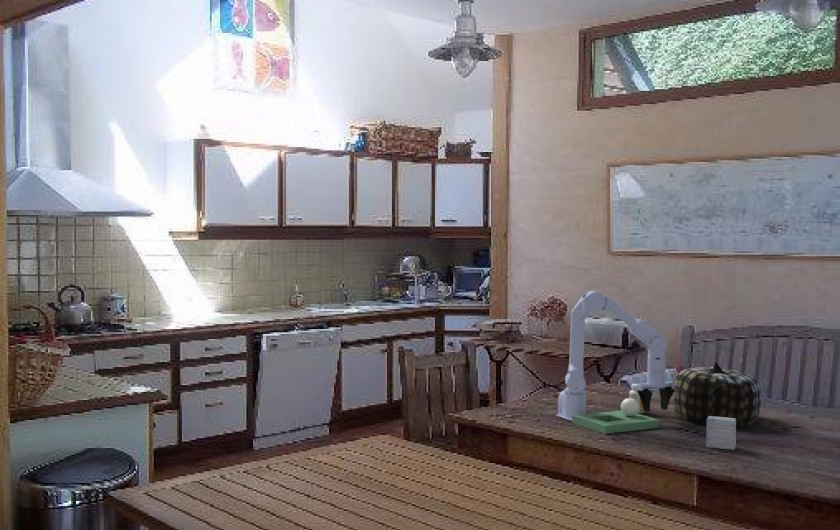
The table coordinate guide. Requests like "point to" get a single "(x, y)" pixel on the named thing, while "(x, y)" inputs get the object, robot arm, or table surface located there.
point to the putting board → (614, 422)
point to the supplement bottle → (636, 397)
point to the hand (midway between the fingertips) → (655, 410)
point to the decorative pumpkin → (716, 395)
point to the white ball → (630, 407)
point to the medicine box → (721, 432)
